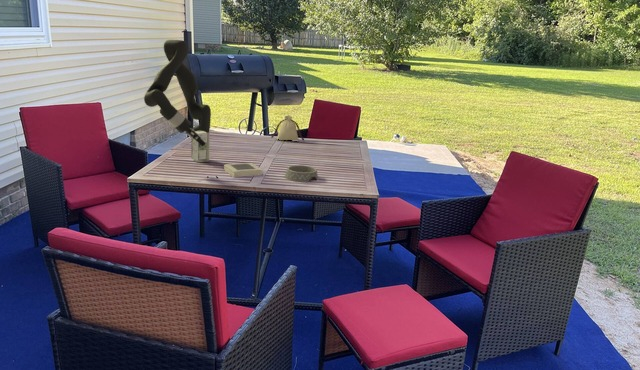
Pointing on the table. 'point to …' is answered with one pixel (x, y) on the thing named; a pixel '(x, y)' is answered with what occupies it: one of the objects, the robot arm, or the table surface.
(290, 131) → the pouch
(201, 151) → the syrup box
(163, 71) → the robot arm
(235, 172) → the plinth
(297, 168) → the dog bowl
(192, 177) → the table surface
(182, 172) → the table surface
